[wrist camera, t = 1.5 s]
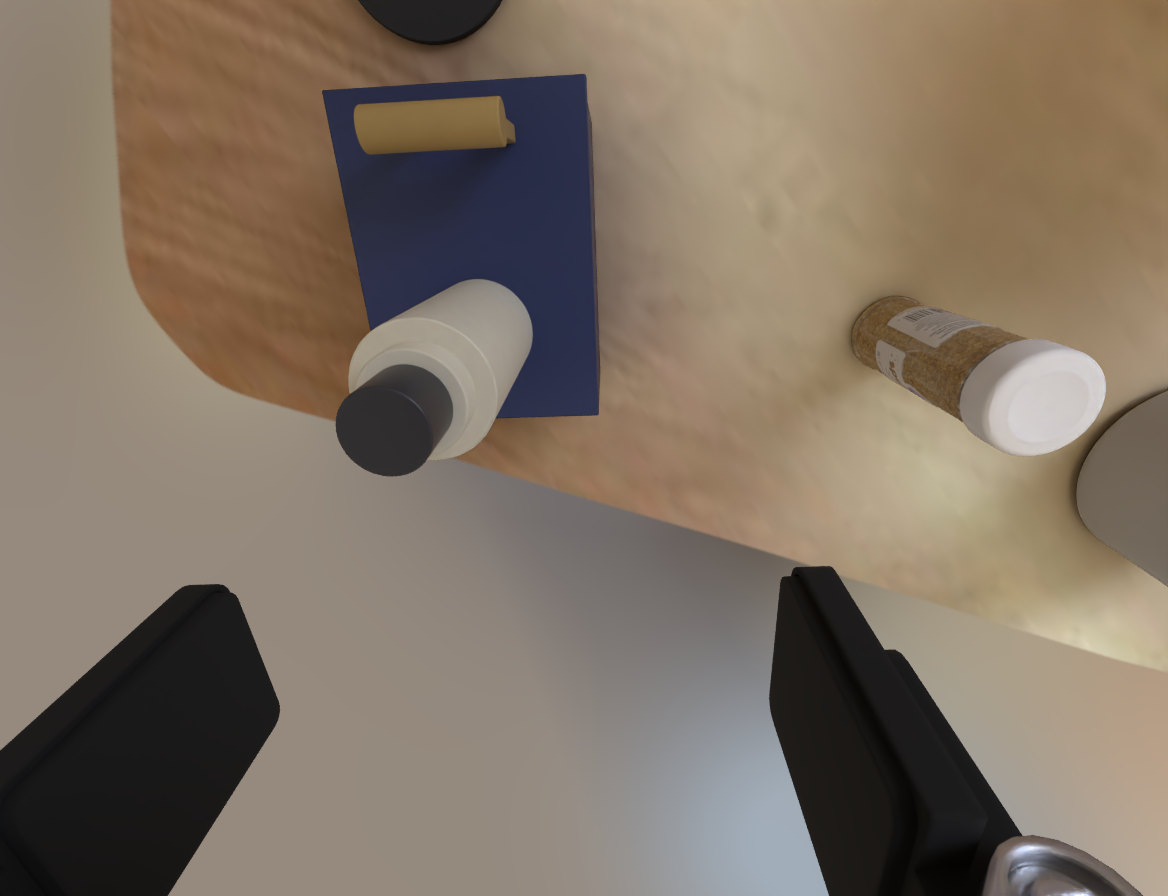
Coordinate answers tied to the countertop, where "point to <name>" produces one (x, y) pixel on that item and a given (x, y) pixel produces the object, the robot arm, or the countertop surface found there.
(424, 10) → the coaster
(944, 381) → the sprinkles bottle
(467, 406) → the bottle
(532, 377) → the case lid
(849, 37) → the countertop surface
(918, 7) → the countertop surface
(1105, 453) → the cylinder vase
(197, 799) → the robot arm
